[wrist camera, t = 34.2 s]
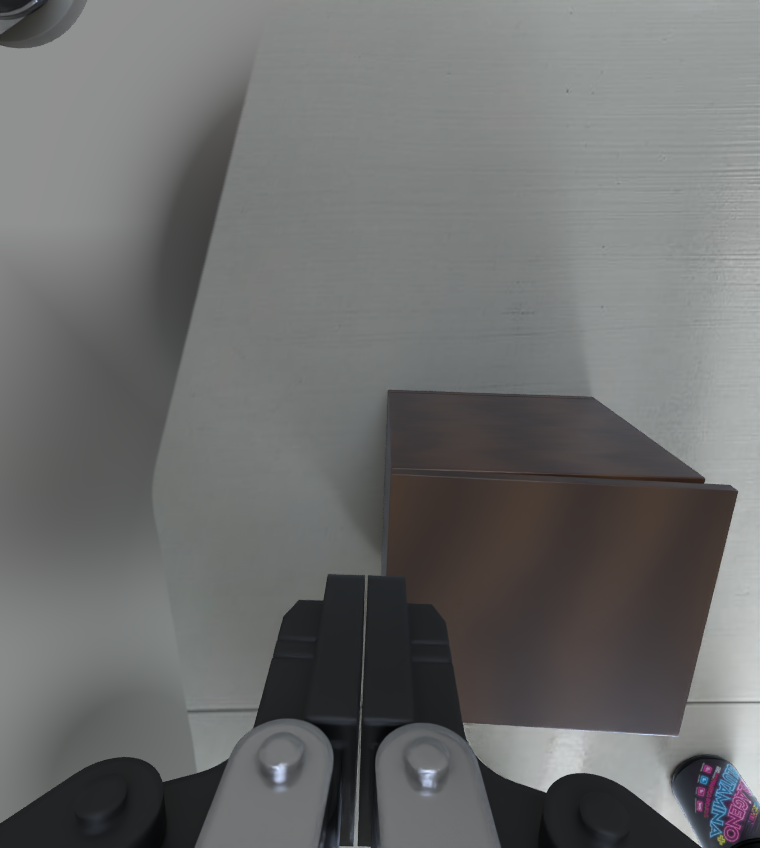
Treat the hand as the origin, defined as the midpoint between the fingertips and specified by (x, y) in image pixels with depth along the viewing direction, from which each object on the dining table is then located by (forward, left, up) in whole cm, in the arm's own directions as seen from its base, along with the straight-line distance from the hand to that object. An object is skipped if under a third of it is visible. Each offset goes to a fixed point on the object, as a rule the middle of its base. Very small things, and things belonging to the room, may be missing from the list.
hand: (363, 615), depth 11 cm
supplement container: (+8, -55, -35) cm, 66 cm away
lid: (+2, -15, -18) cm, 23 cm away
